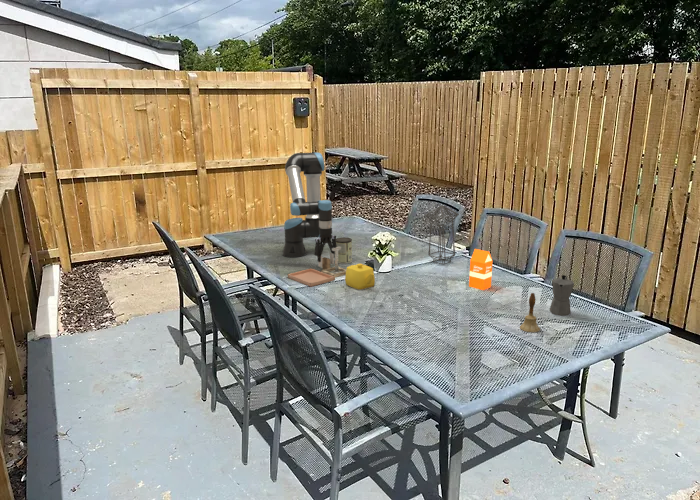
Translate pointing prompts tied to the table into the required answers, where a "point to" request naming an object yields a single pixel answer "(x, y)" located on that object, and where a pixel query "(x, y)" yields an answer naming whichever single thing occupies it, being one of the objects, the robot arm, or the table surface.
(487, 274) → the orange juice
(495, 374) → the table surface
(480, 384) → the table surface
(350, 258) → the coffee can
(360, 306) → the table surface
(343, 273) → the tan wooden piece
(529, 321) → the hand bell
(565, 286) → the coffeepot
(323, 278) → the tray
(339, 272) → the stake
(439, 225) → the geometric lantern
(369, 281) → the teapot
